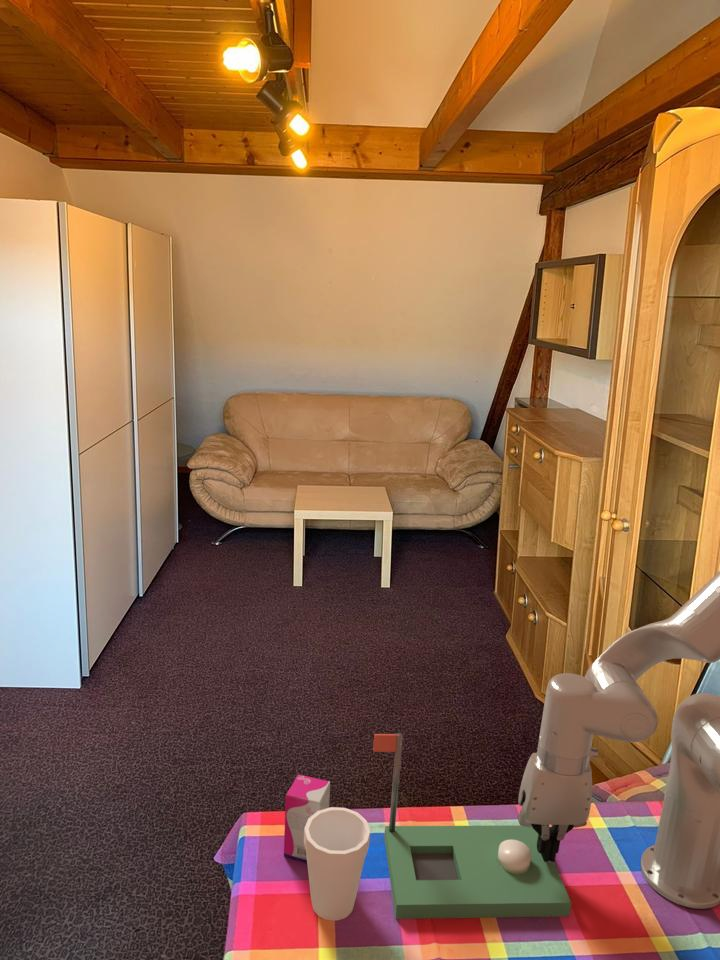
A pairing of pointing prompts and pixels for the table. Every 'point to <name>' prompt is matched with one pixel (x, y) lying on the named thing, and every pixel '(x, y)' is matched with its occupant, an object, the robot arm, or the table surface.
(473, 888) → the putting mat
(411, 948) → the table surface
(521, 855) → the cream rounded stone
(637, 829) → the table surface
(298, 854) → the supplement box
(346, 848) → the foam cup
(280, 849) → the table surface
